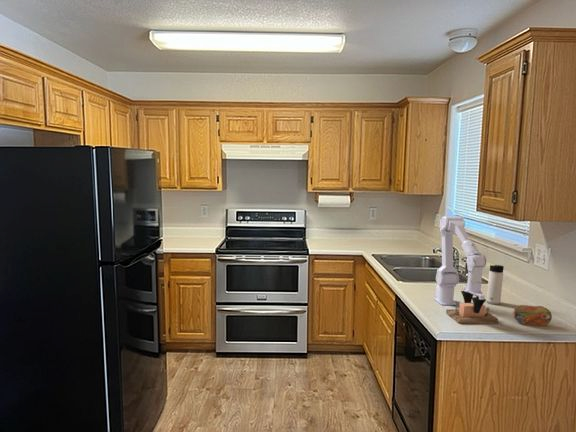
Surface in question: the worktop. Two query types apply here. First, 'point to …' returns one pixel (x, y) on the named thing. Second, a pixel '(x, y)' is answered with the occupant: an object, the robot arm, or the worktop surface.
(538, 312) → the tin
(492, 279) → the travel mug
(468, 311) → the bar
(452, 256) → the robot arm
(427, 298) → the worktop surface
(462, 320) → the board
